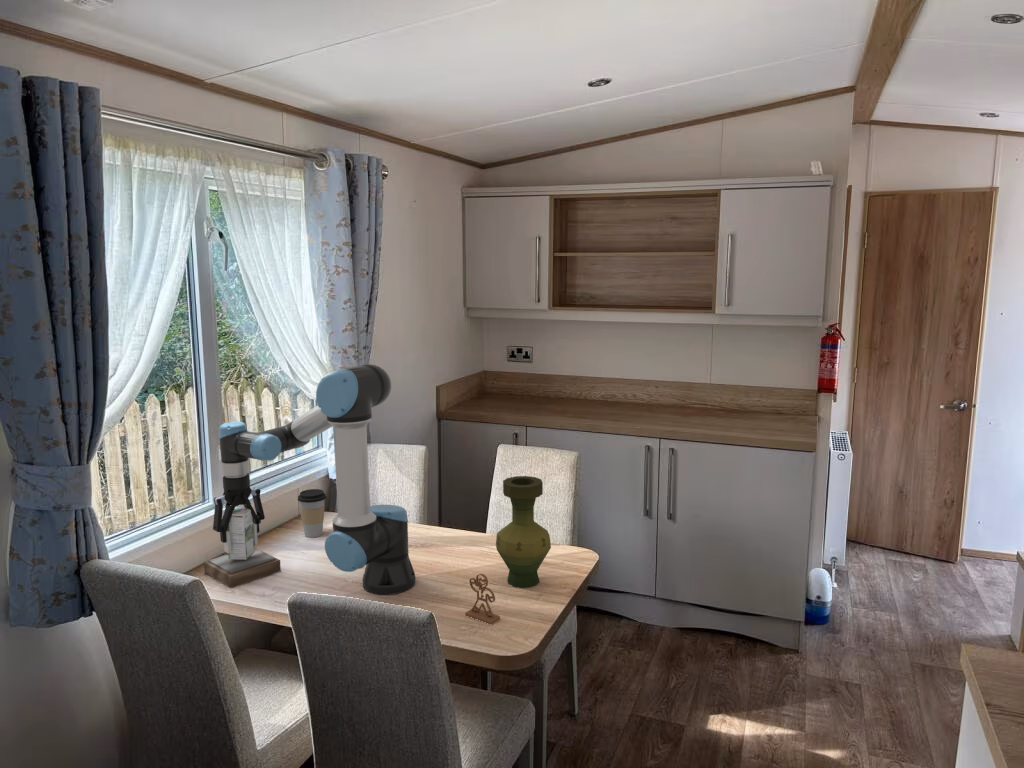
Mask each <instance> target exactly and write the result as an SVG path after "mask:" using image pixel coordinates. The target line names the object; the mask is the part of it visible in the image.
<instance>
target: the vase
mask: <svg viewBox="0 0 1024 768" xmlns="http://www.w3.org/2000/svg"><path fill="white" fill-rule="evenodd" d="M543 486H544V485H543V480H542V479H541V478H538V477H536V476H530V475H529V476H528V475H520V476H519V475H516V476H511V477H507V478H506V479H504V480H503V481H502V493H503V496H504V497H507V498H509V500H510V502H511V506H512V507H511V509H512V511H511V516H512V517H511V522H509V523H507V525H505V526H504V527H503V528H501V529H500V530H499V531H497V532H496V538H495V539H496V540H495V547H496V551H497V553H498V554H499V555H500V558H501V559H502V561H503V562H504V563H505V565H506V567H507V569H508V570H509V572H508V576H507V580H506V581H507V584H508V585H509V586H511V585H512V586H511V587H513V588H518V587H519V588H518V589H528V588H533V587H536V586H538V584H539V583H540V578H539V574H538V570H539V569H540V566H541V565H542V563H543V562H544V560H545V559H546V557H547V555H548V553H549V552H550V551H551V548H552V546H551V545H552V544H551V537H550V533H549V531H548V530H547V529H546V528H544V527H543V526H542V525H540V524H538V523H537V522H536V521H535V517H534V515H535V513H534V512H535V511H534V509H535V503H536V499H537V498H539V497H540V496H542V495H543V492H544V491H543V490H544V488H543Z"/></svg>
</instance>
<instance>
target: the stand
mask: <svg viewBox="0 0 1024 768" xmlns="http://www.w3.org/2000/svg"><path fill="white" fill-rule="evenodd" d="M254 551H255V552H254V553H253V554H252V555H251V556H250V557H249V558H248V559H246V560H239V559H228V553H227V554H224V555H222V556H218V557H214V558H211V559H209V560H206V561H205V560H204V561H203V568H204V569H203V570H204V574H205V575H208V576H209V577H211V578H213V579H214V580H216V581H217V582H220V583H221V584H224V585H225V586H226V587H228V588H230V589H231V588H235V587H238V586H241V585H244V584H246V583H249V582H253V581H255V580H259V579H261V578H264V577H268V576H270V575H272V574H276V573H279V572H282V571H281V570H282V569H281V559H279V558H277V557H275V556H273V555H270V554H269V553H266V552H264V551H263V550H260V549H258V548H256V547H254Z"/></svg>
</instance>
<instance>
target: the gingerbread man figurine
mask: <svg viewBox="0 0 1024 768" xmlns="http://www.w3.org/2000/svg"><path fill="white" fill-rule="evenodd" d="M480 576H481V577H480ZM482 577H483V579H482ZM472 580H473V581H472ZM468 583H469V586H470V588H471V589H472V591H474V592H475V593H476V600H475V602H474V605H472V608H470V609H469V610H467V611H465V613H464V614H465V615H466V616H469V617H472V618H474V619H473V620H475V619H478V620H480V621H479V622H481V621H483V622H482V623H484V622H486V623H485V624H487V623H488V624H487V625H490V624H492V625H494V624H495V622H496V621H497V622H499V621H500V620H501V616H500V615H499V614H496V613H493V611H492V607H490V604H489V603H492V604H493V603H494V602H495V601H496V595H495V593H494V592H493V590H492V589H490V588H489V587H488V585H489V579H488V577H487V576H486V575H485V574H484V573H479V574H477V575H476V577H471V578H469V582H468ZM474 585H475V586H476V587H477V588H478V589H476V588H475V587H474ZM486 590H487V591H488V592H489V593H490V594H489V593H485V594H484V592H485V591H486ZM483 594H484V595H483ZM490 595H491V596H490ZM479 601H481V602H482V603H481V604H480V605H479V607H478V606H477V604H478V602H479ZM484 603H485V604H486V607H487V609H488V610H487V609H486V607H485V604H484ZM466 616H465V617H466ZM469 617H468V618H469ZM472 618H471V619H472ZM478 620H477V621H478ZM498 620H499V621H498ZM497 622H496V623H497ZM493 623H494V624H493Z"/></svg>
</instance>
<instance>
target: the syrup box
mask: <svg viewBox="0 0 1024 768" xmlns="http://www.w3.org/2000/svg"><path fill="white" fill-rule="evenodd" d="M227 531H229V532H230V545H231V553H227V554H228V559H239V560H246V559H248V558H249V557H250V556H251V555H252V554H253V553H254V552H255V551H254V548H255V545H254V535H253V519H252V515H251V509H250V510H249V509H247V508H246V507H244V506H236V507H235V509H234V510H233V513H232V516H231V519H230V522H229V525H228V528H227Z"/></svg>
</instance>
